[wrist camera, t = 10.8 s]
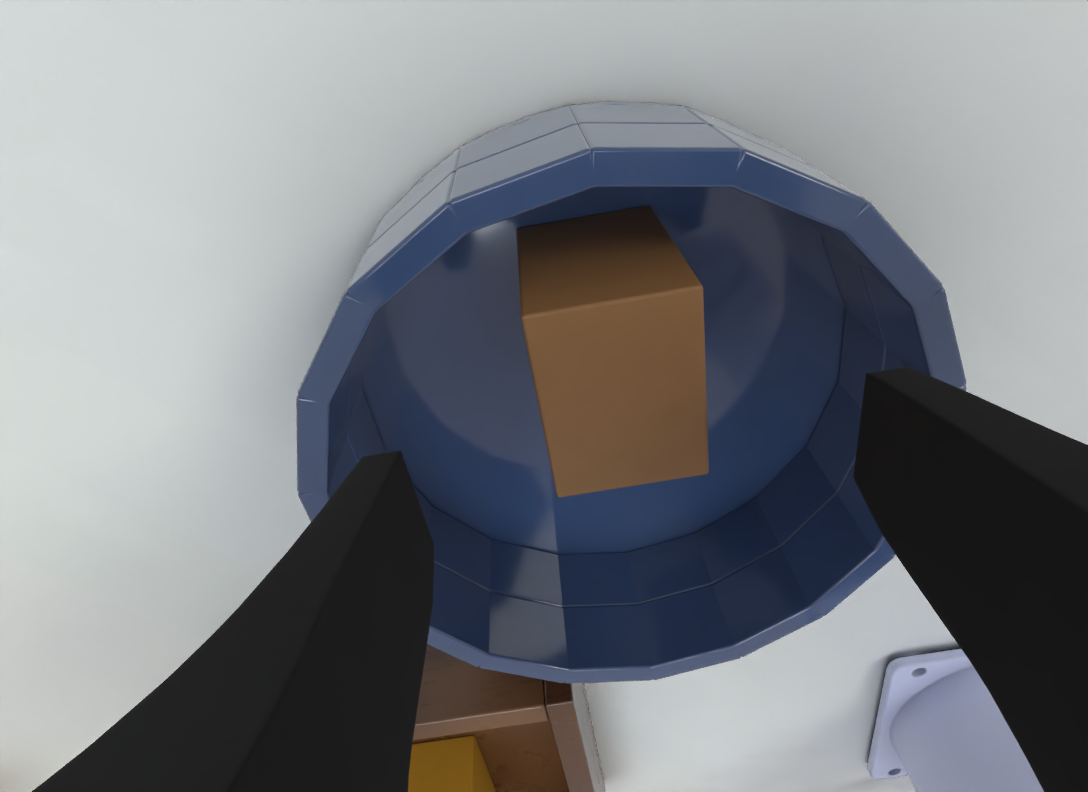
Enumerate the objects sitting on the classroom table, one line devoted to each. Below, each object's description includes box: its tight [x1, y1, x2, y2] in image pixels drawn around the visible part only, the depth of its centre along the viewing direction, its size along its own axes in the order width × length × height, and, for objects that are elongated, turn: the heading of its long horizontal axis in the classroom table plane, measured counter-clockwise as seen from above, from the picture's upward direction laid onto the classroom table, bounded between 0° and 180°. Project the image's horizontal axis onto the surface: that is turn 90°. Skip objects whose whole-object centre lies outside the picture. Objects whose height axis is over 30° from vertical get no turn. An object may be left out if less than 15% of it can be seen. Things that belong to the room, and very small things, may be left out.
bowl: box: [296, 101, 966, 684], centre depth 15 cm, size 13×13×4 cm
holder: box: [412, 645, 606, 792], centre depth 23 cm, size 12×13×4 cm
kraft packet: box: [516, 206, 709, 497], centre depth 14 cm, size 3×4×4 cm
